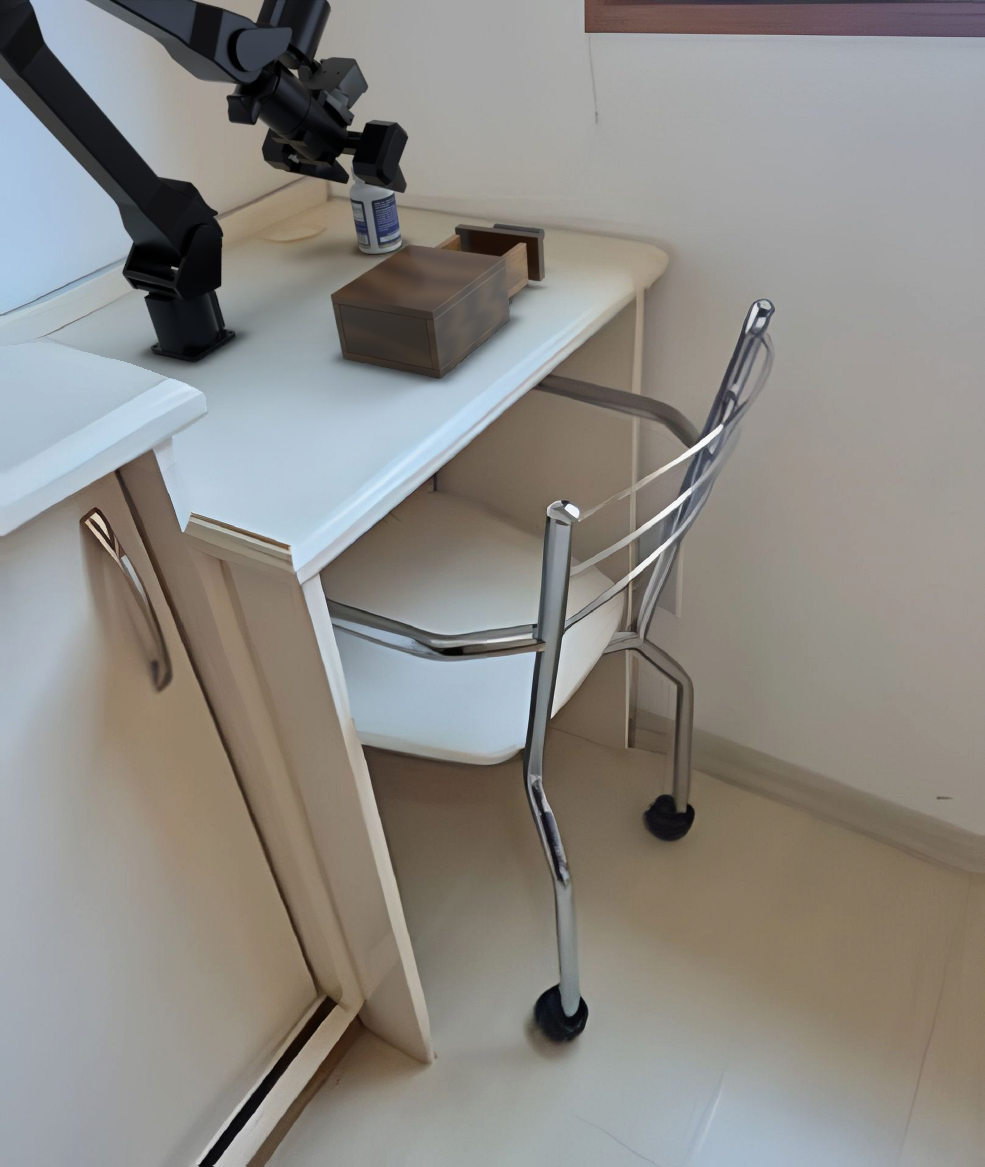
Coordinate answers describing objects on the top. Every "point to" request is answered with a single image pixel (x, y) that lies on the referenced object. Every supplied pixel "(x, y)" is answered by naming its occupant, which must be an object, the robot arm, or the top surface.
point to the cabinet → (422, 309)
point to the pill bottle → (374, 217)
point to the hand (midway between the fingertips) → (375, 184)
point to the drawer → (504, 249)
